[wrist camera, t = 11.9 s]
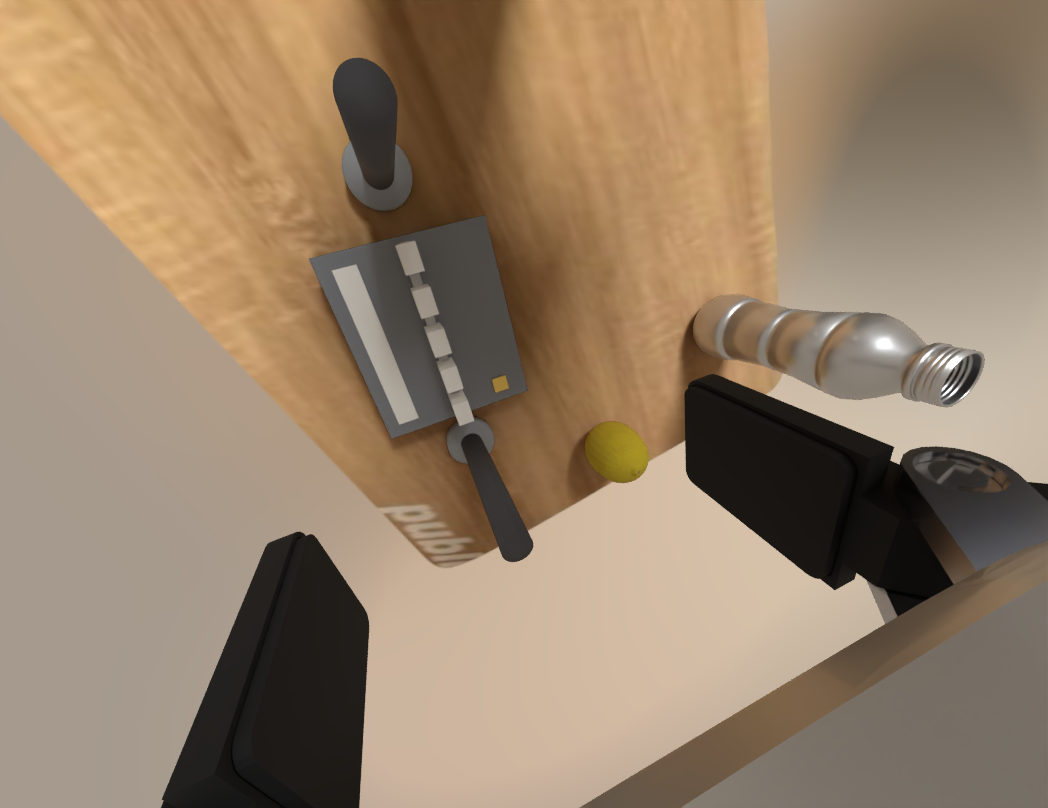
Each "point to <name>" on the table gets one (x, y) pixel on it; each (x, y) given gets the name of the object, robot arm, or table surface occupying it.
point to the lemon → (616, 452)
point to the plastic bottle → (837, 350)
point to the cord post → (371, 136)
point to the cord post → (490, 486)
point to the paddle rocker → (434, 330)
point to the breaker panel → (398, 331)
